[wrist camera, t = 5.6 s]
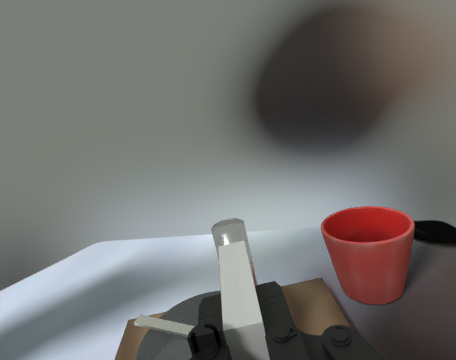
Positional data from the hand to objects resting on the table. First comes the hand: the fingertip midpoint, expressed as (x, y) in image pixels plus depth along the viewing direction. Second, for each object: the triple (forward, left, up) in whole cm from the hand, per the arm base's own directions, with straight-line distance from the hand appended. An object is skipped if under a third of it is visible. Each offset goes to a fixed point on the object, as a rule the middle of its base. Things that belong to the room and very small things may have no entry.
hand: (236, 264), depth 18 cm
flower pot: (+16, +20, -20) cm, 33 cm away
